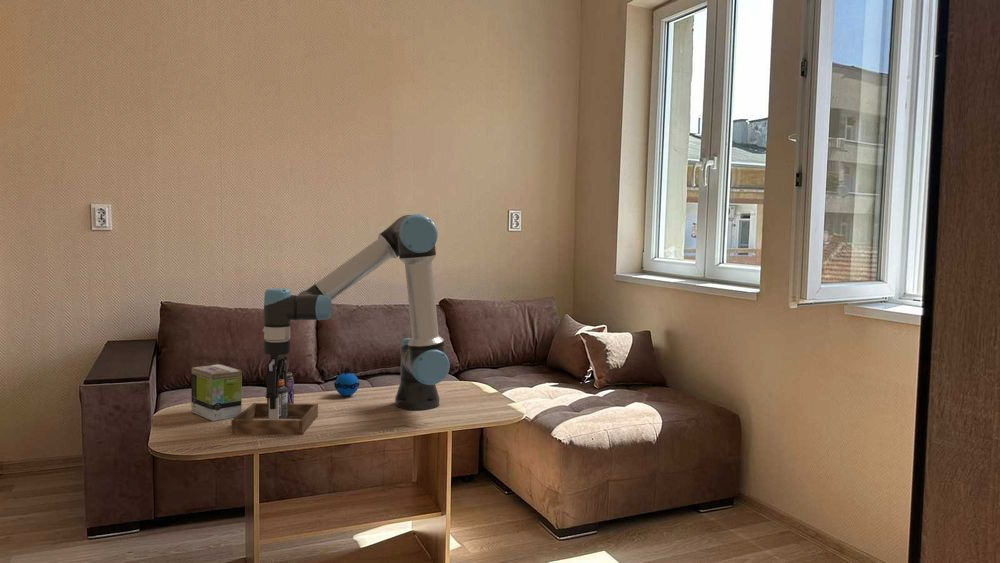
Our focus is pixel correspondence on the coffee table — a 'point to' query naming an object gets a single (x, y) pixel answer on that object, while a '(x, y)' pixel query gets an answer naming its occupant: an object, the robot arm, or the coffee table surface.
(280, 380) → the pill bottle
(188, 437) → the coffee table surface
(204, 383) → the tea box
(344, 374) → the ornament
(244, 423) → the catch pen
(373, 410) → the coffee table surface
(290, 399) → the beverage can
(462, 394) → the coffee table surface
